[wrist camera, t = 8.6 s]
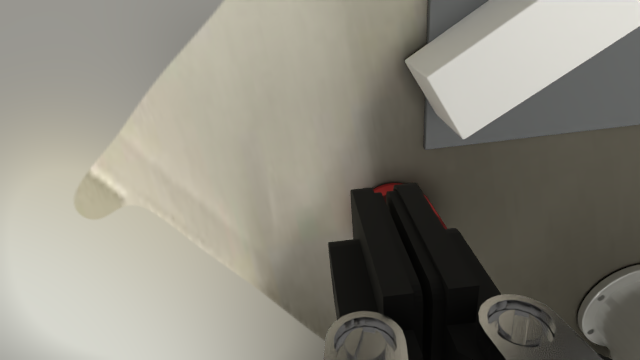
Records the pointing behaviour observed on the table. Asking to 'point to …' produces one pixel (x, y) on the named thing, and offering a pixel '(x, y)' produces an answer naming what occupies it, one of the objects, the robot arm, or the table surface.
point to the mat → (550, 91)
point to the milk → (513, 54)
